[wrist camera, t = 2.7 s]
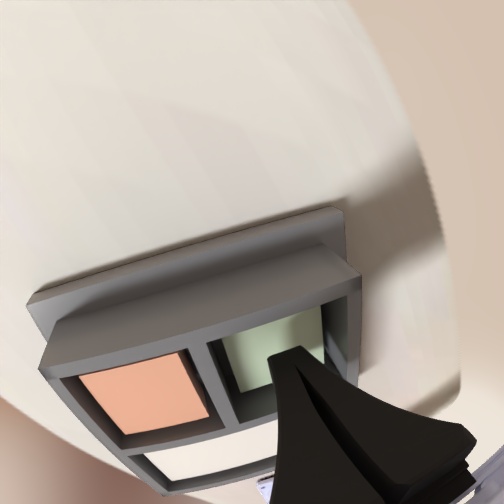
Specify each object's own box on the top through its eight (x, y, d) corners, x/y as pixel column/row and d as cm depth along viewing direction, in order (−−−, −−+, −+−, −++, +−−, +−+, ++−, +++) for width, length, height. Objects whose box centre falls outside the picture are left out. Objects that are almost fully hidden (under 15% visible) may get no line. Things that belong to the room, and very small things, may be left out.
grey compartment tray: (339, 398, 20) (365, 439, 16) (149, 455, 17) (154, 503, 14) (331, 205, 13) (387, 237, 10) (32, 294, 11) (1, 350, 8)
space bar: (321, 415, 16) (331, 433, 15) (168, 460, 15) (171, 481, 14) (319, 374, 15) (332, 394, 13) (139, 427, 13) (140, 451, 12)
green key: (311, 343, 15) (324, 363, 13) (233, 370, 14) (240, 393, 13) (303, 275, 13) (319, 292, 12) (211, 304, 12) (217, 326, 11)
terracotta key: (203, 391, 13) (209, 416, 12) (125, 410, 12) (125, 434, 11) (174, 327, 11) (177, 352, 10) (84, 350, 11) (78, 376, 9)
